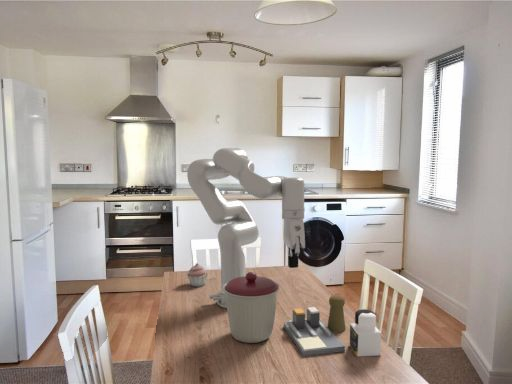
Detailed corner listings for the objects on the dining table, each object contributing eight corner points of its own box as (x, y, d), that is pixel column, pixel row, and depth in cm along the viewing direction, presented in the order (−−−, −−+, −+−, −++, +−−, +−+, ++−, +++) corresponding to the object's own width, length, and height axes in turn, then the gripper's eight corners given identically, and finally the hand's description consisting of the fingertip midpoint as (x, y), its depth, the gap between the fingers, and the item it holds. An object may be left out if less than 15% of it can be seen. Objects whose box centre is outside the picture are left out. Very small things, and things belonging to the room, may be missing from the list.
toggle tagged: (296, 328, 131) (296, 313, 131) (292, 323, 135) (292, 308, 135) (305, 327, 132) (305, 312, 132) (301, 322, 136) (301, 308, 135)
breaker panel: (303, 356, 118) (303, 348, 117) (283, 326, 137) (283, 320, 137) (344, 351, 120) (344, 343, 120) (319, 323, 140) (319, 316, 140)
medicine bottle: (349, 345, 124) (350, 307, 123) (371, 344, 125) (373, 306, 123) (357, 357, 117) (358, 317, 116) (380, 356, 117) (382, 316, 116)
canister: (216, 329, 135) (215, 267, 133) (266, 320, 142) (266, 262, 140) (234, 354, 119) (233, 284, 117) (289, 343, 125) (289, 277, 123)
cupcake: (184, 283, 182) (184, 261, 181) (204, 280, 186) (204, 259, 185) (190, 289, 174) (189, 267, 173) (210, 286, 178) (210, 264, 177)
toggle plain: (310, 327, 133) (310, 312, 132) (306, 322, 136) (306, 307, 136) (319, 326, 133) (319, 311, 133) (315, 321, 137) (315, 306, 137)
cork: (345, 332, 132) (346, 300, 131) (327, 331, 133) (327, 299, 132) (345, 325, 138) (346, 294, 137) (327, 323, 139) (328, 292, 138)
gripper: (311, 217, 130) (311, 272, 132) (296, 210, 145) (296, 260, 147) (289, 218, 129) (289, 274, 130) (276, 211, 143) (276, 262, 145)
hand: (293, 266), depth 138 cm, fingers closed
